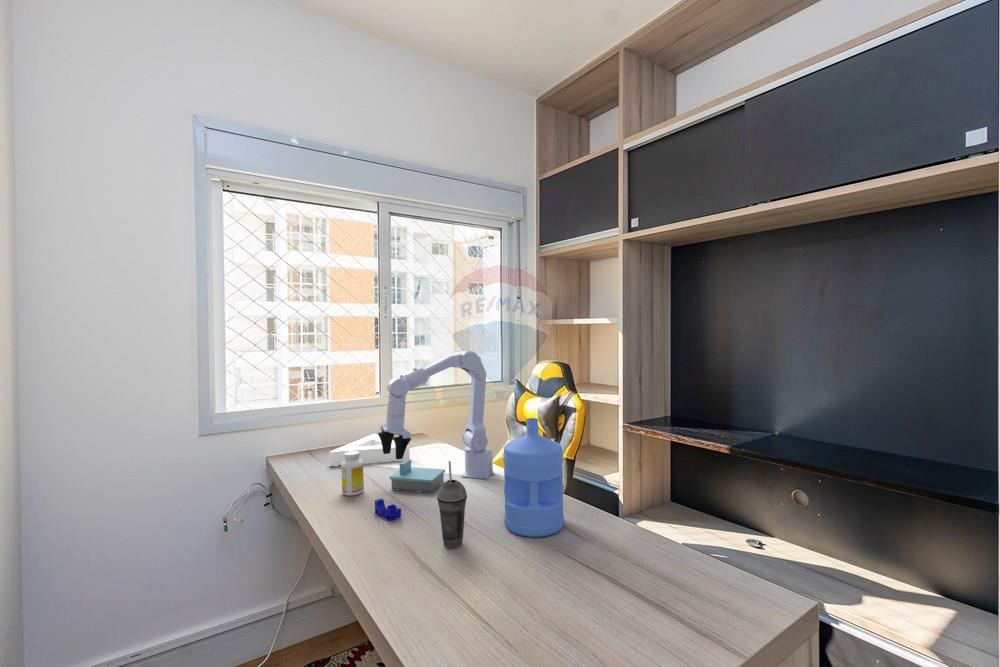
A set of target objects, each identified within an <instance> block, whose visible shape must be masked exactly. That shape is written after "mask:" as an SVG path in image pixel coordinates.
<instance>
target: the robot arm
mask: <svg viewBox="0 0 1000 667" xmlns="http://www.w3.org/2000/svg"><path fill="white" fill-rule="evenodd" d="M449 368H457V369H458V368H459V369H461V370H463V371H465V372H466V374H468V376H470V379H471V380H470V392H469V405H468V406H469V408H468V421H467V423H466V425H465V429H464V431H463V433H462V436H461V437H462V442H463V443H464V445H465V446H464V472H463V473H462V474H461V478H472V479H486V480H487V479H488V478H489V477H490V476H491V475H492V474H493V473H494V469H493V452H492V450H489V449H486V448H487V446H488V441H489V440H488V437H487V434H486V430H487V429H486V427H485V424H484V415H485V414H484V413H485V412H484V411H485V399H486V385H487V384H486V383H487V371H486V368H485V367H484V364H483V362H482V357H480V356H479V355H478V354H477V353H476V352H475V351H471V350H470V351H468V350H462V349H460V350H458V351H456V352H452V353H451V354H448V355H446V356H445V357H442V358H441V359H439V360H437V361H435V362H433V363H432V364H430V365H428V366H426V367H422V366H418V367H417V366H414V367H412V368H411V370H410V371H408V372H406V373H404V374H403V373H401V374H399V376H398V377H394V378H392V379H391V380H390V381H388V384H387V385H386V388H387V389H386V390H387V391H388V400H387V409H386V422H385V424H380V428H379V429H380V432H378V433H377V435H379V437H380V440H381V443H382V448H383V454H389V453H390V451H391V445H392V440H393V441H394V443H395V448H396V459H403V456H404V453H405V450H406V447H407V446H409V444H410V442H411V440H412V438H411V431H408V430H407V429H406V428H405V416H406V415H405V414H406V397H407V394H408V393H409V391H412V390H414V389H416V388H418V387H419V386H421V385H424V384H426V383H427V382H428V380H429V378H430V377H431V376H433V375H436V374H438V373H440V372H442V371H444V370H447V369H449ZM395 436H396V437H395Z"/></svg>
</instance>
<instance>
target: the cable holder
mask: <svg viewBox="0 0 1000 667" xmlns="http://www.w3.org/2000/svg"><path fill="white" fill-rule="evenodd" d="M374 514H375V515H377V516H379V517H381V518H382V517H383V519H384V520H386V521H388V522H390V521H391V522H394V521H396V520H398V519H397V518H399V519H401V518H402V509H401V508H399V507H397V505H395V504H393V503H392V504H390V505H387V506H386V505H385V500H384V499H383V498H377V499H374ZM400 517H401V518H400ZM395 519H396V520H395ZM393 520H394V521H393Z"/></svg>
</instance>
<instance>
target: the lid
mask: <svg viewBox="0 0 1000 667" xmlns="http://www.w3.org/2000/svg"><path fill="white" fill-rule="evenodd" d="M445 472H446V469H443V468H429V467H428V468H427V467H415V466H412V459H410V460H407V459H406V460H405V461H401V462H399V470H398V471H396V472H395V473H394V474H392V475H390V476H389V480H391V479H392V480H404V481H417V482H429V483H432V482H433V481H435V480H436V479H437V478H438V477H439V476H441V475H442V474H443V475H444V473H445Z"/></svg>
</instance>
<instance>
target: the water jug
mask: <svg viewBox="0 0 1000 667" xmlns="http://www.w3.org/2000/svg"><path fill="white" fill-rule="evenodd" d="M525 421H526V425H525V427H526V433H525V435H522V436H519V437H518V438H516V439H513V440H511V441H509V442H508V443H506V444H505V445H504V446H503V455H502V460H503V471H504V472H503V476H504V477H503V479H504V480H503V482H504V484H503V494H504V515H503V517H504V518H503V520H504V525H505V527H506V528H507V529H508V530H509V531H510V532H512V533H513V534H515V535H517V536H522V537H529V538H542V537H544V538H545V537H549V536H551V535H555V534H556V533H558V532H559V531H560V530H561V529H562V528H563V527H564V523H565V517H564V516H565V515H564V484H563V463H564V461H563V460H564V454H563V447H562V445H561V444H560V443H558V442H556V441H555V440H552V439H549V438H547V437H545V436H543V435H541V434H540V433H539V423H538V422H539V418H536V417H529V418H526V420H525Z"/></svg>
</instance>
